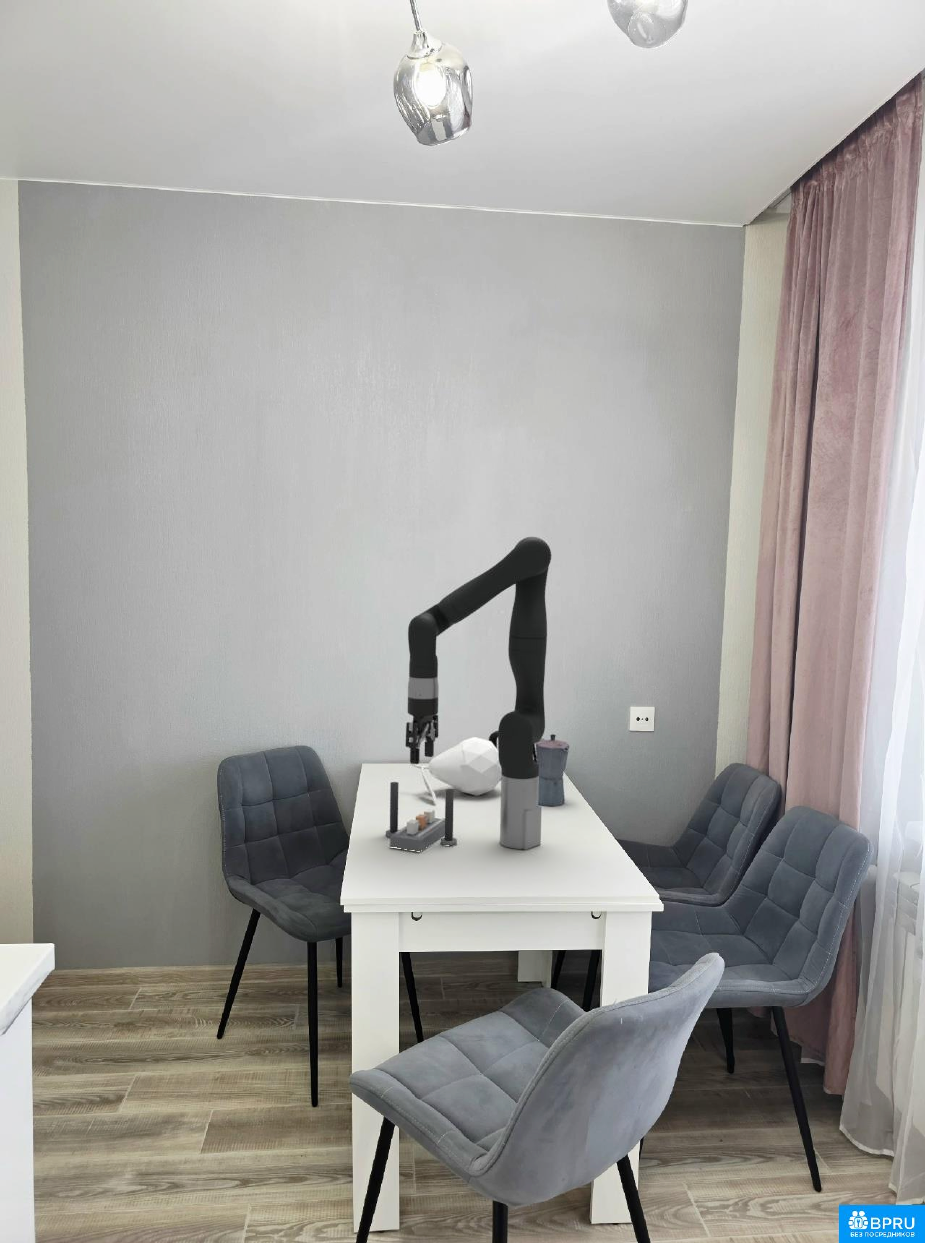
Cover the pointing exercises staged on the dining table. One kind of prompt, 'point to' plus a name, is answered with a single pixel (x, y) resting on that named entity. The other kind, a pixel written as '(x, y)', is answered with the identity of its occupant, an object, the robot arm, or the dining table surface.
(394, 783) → the dark grey lever handle
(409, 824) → the white and orange bar
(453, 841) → the dark grey cylinder
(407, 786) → the dining table surface
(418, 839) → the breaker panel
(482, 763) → the pear ornament
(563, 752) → the moka pot
